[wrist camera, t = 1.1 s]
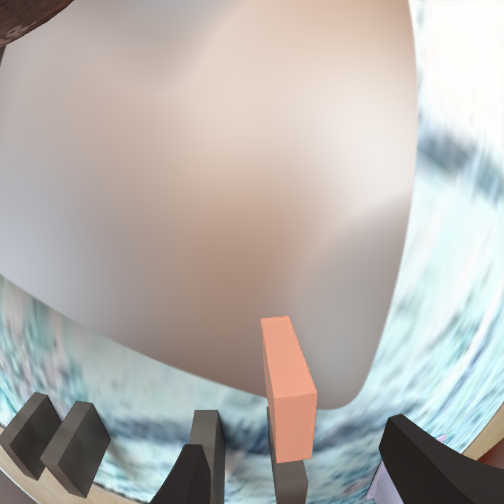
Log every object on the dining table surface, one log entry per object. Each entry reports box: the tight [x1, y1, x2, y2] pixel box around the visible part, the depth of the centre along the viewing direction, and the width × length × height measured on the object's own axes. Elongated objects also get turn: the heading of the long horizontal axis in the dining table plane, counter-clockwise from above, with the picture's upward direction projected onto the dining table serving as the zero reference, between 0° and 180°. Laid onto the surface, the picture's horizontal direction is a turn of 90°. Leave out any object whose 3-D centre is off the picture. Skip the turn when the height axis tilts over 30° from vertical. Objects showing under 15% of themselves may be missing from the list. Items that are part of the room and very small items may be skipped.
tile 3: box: [40, 401, 111, 498], centre depth 14 cm, size 4×2×7 cm, turn 4°
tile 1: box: [267, 407, 308, 504], centre depth 15 cm, size 4×2×7 cm, turn 4°
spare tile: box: [261, 316, 317, 463], centre depth 13 cm, size 4×2×7 cm, turn 4°
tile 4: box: [0, 392, 62, 481], centre depth 14 cm, size 4×2×7 cm, turn 4°
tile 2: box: [189, 410, 225, 504], centre depth 15 cm, size 4×2×7 cm, turn 4°
